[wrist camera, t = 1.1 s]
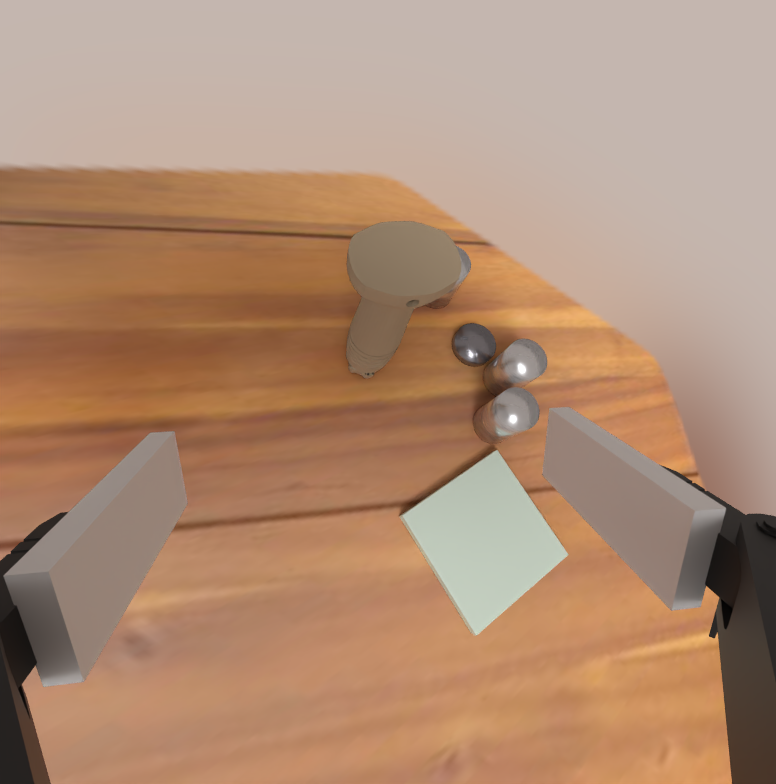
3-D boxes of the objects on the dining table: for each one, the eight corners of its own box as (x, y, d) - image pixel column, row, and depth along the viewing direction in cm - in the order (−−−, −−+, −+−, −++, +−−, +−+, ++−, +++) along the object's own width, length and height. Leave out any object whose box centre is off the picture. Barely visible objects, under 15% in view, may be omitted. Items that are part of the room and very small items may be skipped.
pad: (399, 516, 34) (402, 515, 33) (491, 452, 37) (497, 449, 36) (471, 632, 32) (476, 635, 31) (561, 554, 35) (568, 554, 35)
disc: (442, 340, 40) (446, 334, 39) (474, 322, 42) (479, 316, 40) (467, 374, 39) (472, 369, 38) (498, 355, 41) (504, 350, 40)
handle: (404, 383, 38) (470, 291, 24) (332, 393, 36) (358, 300, 22) (392, 334, 39) (448, 219, 25) (322, 341, 37) (341, 223, 23)
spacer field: (355, 268, 40) (364, 233, 36) (420, 241, 43) (436, 204, 38) (481, 455, 37) (508, 443, 32) (543, 412, 40) (577, 395, 35)
